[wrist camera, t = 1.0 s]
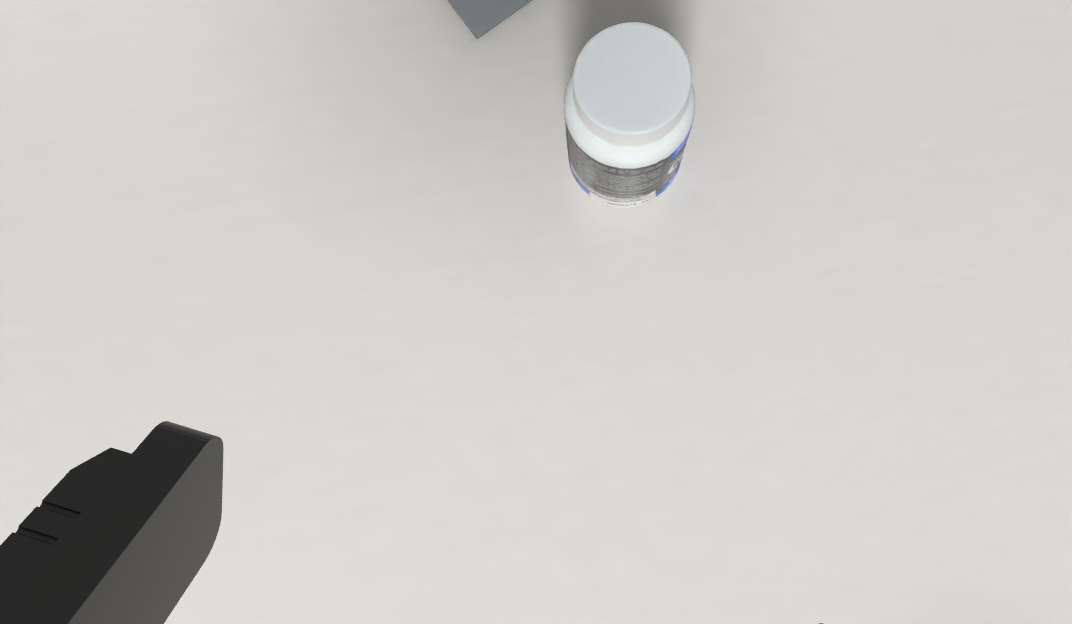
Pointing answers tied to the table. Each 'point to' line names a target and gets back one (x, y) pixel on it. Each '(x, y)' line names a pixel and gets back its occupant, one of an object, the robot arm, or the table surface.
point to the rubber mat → (485, 13)
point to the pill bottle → (628, 113)
